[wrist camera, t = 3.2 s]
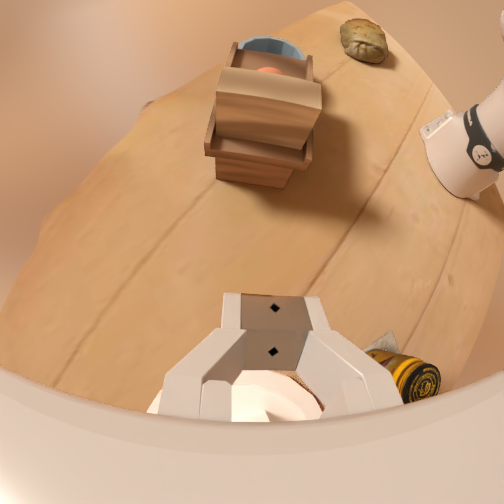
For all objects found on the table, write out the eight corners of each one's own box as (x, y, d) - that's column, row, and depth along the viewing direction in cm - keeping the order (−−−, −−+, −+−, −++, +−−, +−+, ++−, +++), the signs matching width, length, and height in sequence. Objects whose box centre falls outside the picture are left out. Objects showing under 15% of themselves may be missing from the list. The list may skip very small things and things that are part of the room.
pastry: (354, 30, 47) (365, 8, 40) (393, 59, 47) (407, 38, 39) (321, 38, 45) (332, 12, 37) (365, 70, 44) (380, 45, 36)
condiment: (343, 362, 33) (394, 383, 21) (390, 329, 34) (449, 335, 22) (360, 402, 32) (409, 432, 20) (405, 370, 33) (460, 385, 21)
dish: (114, 387, 29) (76, 417, 18) (298, 336, 33) (333, 350, 22) (185, 515, 25) (179, 561, 14) (340, 473, 29) (371, 511, 18)
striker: (301, 149, 27) (321, 109, 20) (216, 135, 27) (215, 91, 20) (302, 125, 28) (321, 83, 21) (222, 111, 27) (223, 66, 20)
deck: (289, 197, 36) (312, 160, 26) (207, 184, 35) (203, 142, 25) (295, 99, 39) (312, 55, 29) (230, 88, 38) (233, 42, 28)
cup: (263, 56, 41) (268, 30, 35) (306, 85, 40) (317, 59, 34) (222, 78, 39) (223, 50, 32) (267, 110, 38) (274, 82, 32)
